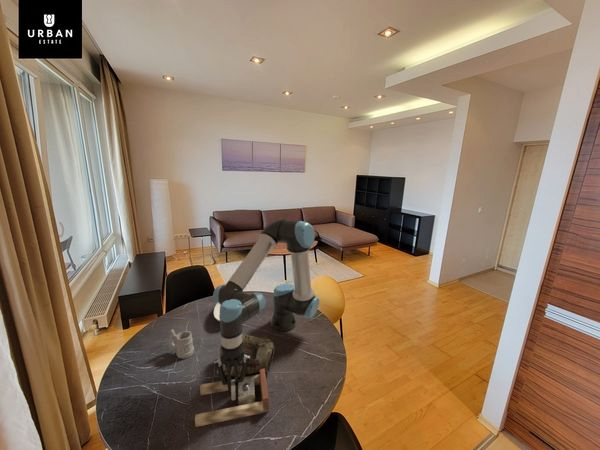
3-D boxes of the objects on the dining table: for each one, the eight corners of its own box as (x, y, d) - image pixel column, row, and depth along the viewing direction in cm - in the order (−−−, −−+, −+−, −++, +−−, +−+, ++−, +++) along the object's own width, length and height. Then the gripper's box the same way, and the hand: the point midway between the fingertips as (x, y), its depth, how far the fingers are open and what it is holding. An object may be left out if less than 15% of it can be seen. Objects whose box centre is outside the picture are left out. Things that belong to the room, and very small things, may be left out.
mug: (188, 360, 113) (186, 337, 110) (164, 357, 114) (162, 334, 112) (197, 348, 120) (195, 327, 118) (174, 346, 122) (172, 324, 119)
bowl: (236, 330, 136) (235, 320, 134) (208, 330, 135) (207, 320, 133) (244, 302, 165) (244, 293, 164) (222, 302, 164) (221, 293, 163)
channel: (264, 380, 103) (264, 368, 102) (268, 411, 90) (268, 397, 88) (201, 392, 97) (200, 379, 96) (195, 427, 84) (194, 412, 82)
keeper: (254, 390, 98) (253, 377, 97) (254, 406, 92) (254, 392, 90) (238, 393, 97) (238, 379, 96) (238, 409, 90) (238, 395, 89)
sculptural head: (278, 326, 119) (227, 319, 119) (273, 349, 98) (211, 340, 98) (272, 362, 119) (222, 354, 119) (267, 392, 98) (205, 383, 98)
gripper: (249, 333, 93) (250, 385, 98) (213, 338, 90) (216, 391, 95) (250, 347, 86) (251, 402, 91) (211, 352, 83) (214, 409, 88)
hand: (233, 397), depth 93 cm, fingers closed
